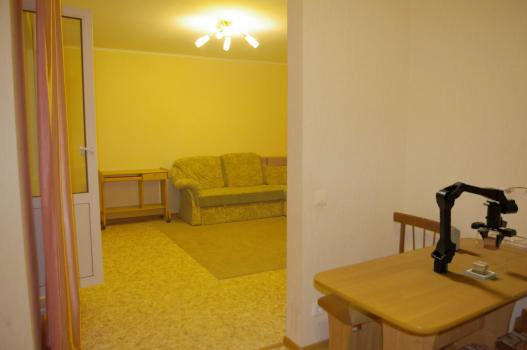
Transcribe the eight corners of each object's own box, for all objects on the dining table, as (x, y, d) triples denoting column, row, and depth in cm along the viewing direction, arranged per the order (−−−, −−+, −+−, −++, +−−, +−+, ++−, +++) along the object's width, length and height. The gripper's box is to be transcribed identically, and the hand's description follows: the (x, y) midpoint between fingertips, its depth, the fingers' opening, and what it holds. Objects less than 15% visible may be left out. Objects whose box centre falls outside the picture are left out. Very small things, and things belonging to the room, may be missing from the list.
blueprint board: (485, 283, 171) (485, 279, 170) (460, 274, 181) (460, 270, 181) (500, 277, 177) (500, 273, 176) (475, 269, 187) (475, 265, 187)
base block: (482, 276, 175) (483, 266, 175) (471, 273, 180) (472, 262, 179) (488, 274, 178) (489, 264, 177) (478, 270, 182) (478, 260, 181)
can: (462, 250, 213) (463, 229, 211) (448, 251, 213) (449, 230, 211) (455, 246, 220) (456, 226, 218) (442, 246, 220) (443, 226, 219)
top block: (494, 251, 182) (494, 240, 181) (483, 248, 186) (484, 238, 185) (500, 249, 184) (500, 238, 184) (489, 246, 189) (490, 236, 188)
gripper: (524, 216, 179) (521, 248, 181) (484, 208, 195) (482, 238, 197) (511, 219, 173) (508, 253, 175) (470, 211, 189) (469, 242, 191)
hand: (491, 246), depth 185 cm, fingers closed on top block, 5 cm apart
